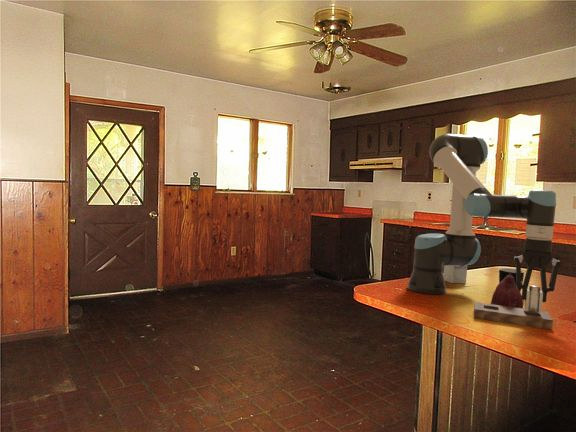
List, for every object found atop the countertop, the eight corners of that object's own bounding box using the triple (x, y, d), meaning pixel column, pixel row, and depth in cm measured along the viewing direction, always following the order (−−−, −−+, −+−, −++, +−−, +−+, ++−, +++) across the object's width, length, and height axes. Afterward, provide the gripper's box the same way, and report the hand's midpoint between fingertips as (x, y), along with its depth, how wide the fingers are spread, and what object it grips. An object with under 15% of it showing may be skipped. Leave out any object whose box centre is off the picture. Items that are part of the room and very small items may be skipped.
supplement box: (452, 283, 189) (454, 256, 188) (442, 280, 196) (444, 253, 195) (466, 283, 191) (468, 256, 190) (456, 279, 198) (458, 253, 197)
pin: (527, 323, 135) (530, 286, 134) (525, 320, 138) (528, 284, 137) (537, 325, 134) (540, 288, 133) (536, 322, 137) (539, 286, 136)
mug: (519, 298, 167) (521, 273, 166) (494, 294, 172) (496, 269, 172) (525, 293, 176) (527, 269, 175) (502, 289, 182) (504, 266, 181)
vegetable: (519, 323, 145) (529, 285, 140) (487, 313, 150) (495, 276, 145) (523, 309, 153) (532, 273, 148) (492, 300, 159) (500, 265, 153)
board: (474, 318, 138) (475, 309, 138) (474, 310, 147) (474, 301, 147) (552, 329, 129) (552, 320, 129) (546, 320, 139) (547, 311, 138)
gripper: (511, 237, 134) (505, 309, 135) (571, 242, 127) (564, 317, 129) (509, 235, 141) (504, 304, 142) (565, 239, 134) (559, 311, 136)
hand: (532, 310), depth 135 cm, fingers closed on pin, 3 cm apart
